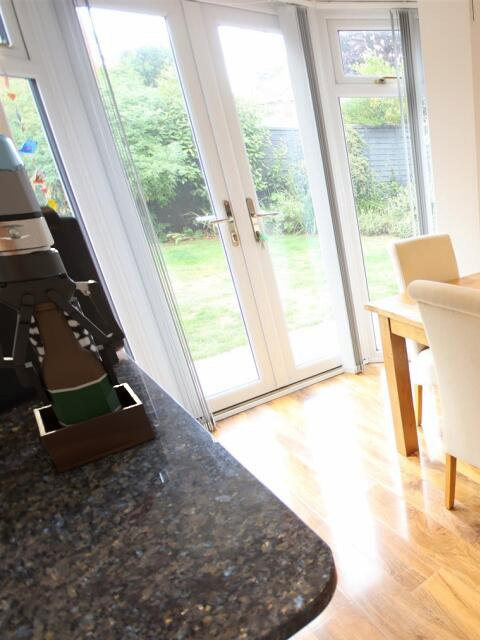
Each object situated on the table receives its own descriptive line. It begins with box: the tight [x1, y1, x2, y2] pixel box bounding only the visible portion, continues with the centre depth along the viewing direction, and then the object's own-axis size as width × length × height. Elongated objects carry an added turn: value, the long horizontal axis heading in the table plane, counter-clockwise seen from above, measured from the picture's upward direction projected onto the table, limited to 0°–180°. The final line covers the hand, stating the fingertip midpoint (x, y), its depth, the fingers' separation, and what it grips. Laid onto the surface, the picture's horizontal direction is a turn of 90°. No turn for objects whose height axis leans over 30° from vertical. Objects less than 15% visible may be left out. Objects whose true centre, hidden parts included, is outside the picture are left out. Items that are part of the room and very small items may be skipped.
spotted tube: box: [15, 296, 102, 365], centre depth 88 cm, size 8×8×20 cm
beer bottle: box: [33, 301, 122, 428], centre depth 73 cm, size 8×8×24 cm
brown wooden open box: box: [33, 382, 156, 474], centre depth 76 cm, size 12×12×7 cm
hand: (82, 392), depth 74 cm, fingers closed on beer bottle, 8 cm apart
